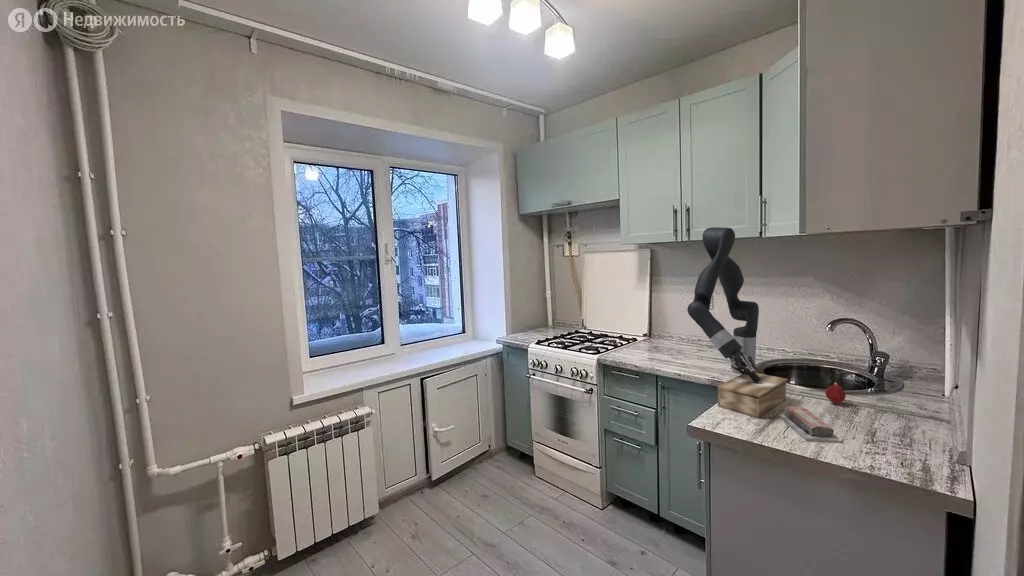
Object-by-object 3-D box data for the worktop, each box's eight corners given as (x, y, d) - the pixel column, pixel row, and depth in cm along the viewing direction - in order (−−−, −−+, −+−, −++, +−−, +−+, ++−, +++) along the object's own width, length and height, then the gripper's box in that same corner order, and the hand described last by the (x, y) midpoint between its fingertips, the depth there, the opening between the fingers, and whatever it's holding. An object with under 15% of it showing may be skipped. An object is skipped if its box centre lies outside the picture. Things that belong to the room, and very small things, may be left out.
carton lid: (717, 388, 150) (717, 385, 150) (747, 373, 165) (747, 371, 165) (759, 397, 138) (759, 394, 138) (787, 380, 153) (787, 378, 153)
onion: (849, 406, 148) (850, 384, 147) (835, 407, 147) (837, 386, 146) (834, 400, 154) (835, 379, 153) (821, 401, 153) (822, 380, 152)
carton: (717, 406, 151) (718, 388, 150) (746, 390, 165) (746, 374, 165) (758, 418, 140) (759, 399, 139) (785, 400, 154) (786, 383, 153)
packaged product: (778, 404, 141) (810, 405, 139) (777, 417, 141) (809, 418, 140) (806, 427, 123) (843, 429, 121) (805, 442, 124) (842, 444, 122)
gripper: (724, 341, 152) (758, 380, 144) (740, 335, 160) (774, 372, 151) (710, 351, 157) (742, 391, 148) (726, 346, 165) (758, 382, 156)
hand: (758, 381), depth 150 cm, fingers closed
